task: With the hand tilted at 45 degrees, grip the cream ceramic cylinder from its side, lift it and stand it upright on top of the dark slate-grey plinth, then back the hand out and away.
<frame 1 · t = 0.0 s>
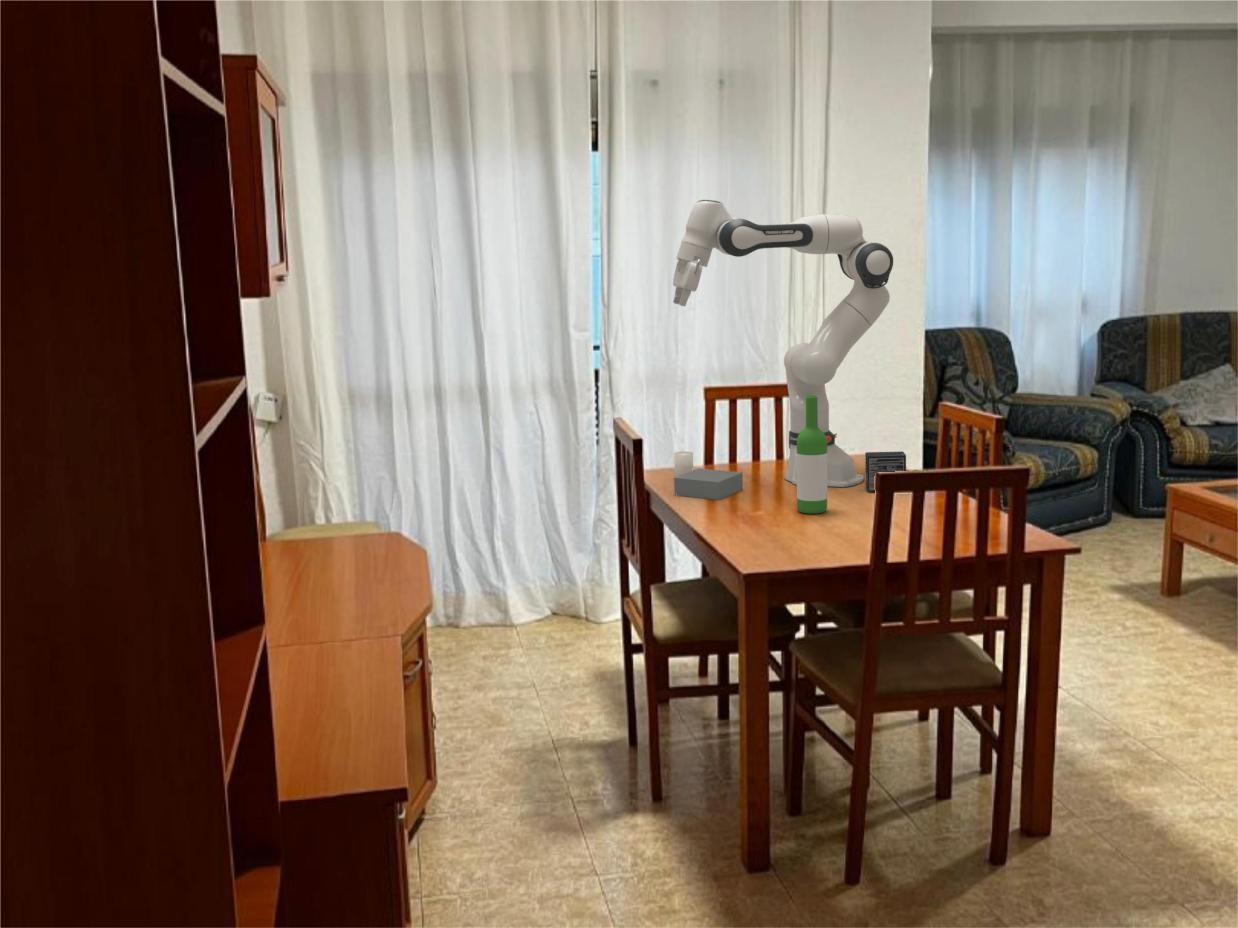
hand: (678, 304, 329), 52 cm above the table, tool tilted 20°, fingers open, 8 cm apart
wine bottle: (812, 512, 304), on the table
cylinder: (684, 479, 348), on the table
plinth: (708, 492, 330), on the table
small box: (885, 491, 325), on the table
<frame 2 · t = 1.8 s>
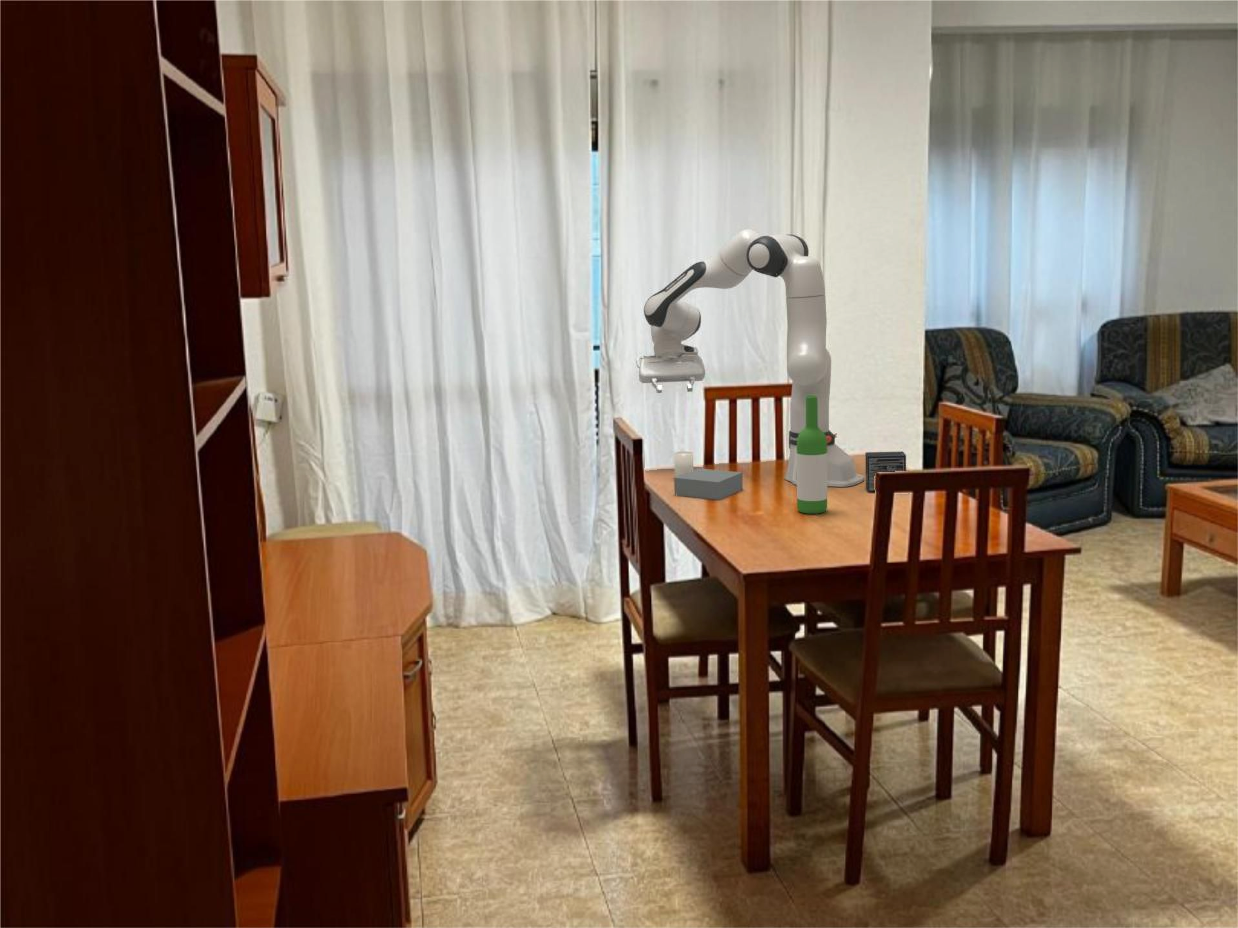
hand: (674, 391, 355), 25 cm above the table, tool tilted 45°, fingers open, 8 cm apart
nothing on the table moved.
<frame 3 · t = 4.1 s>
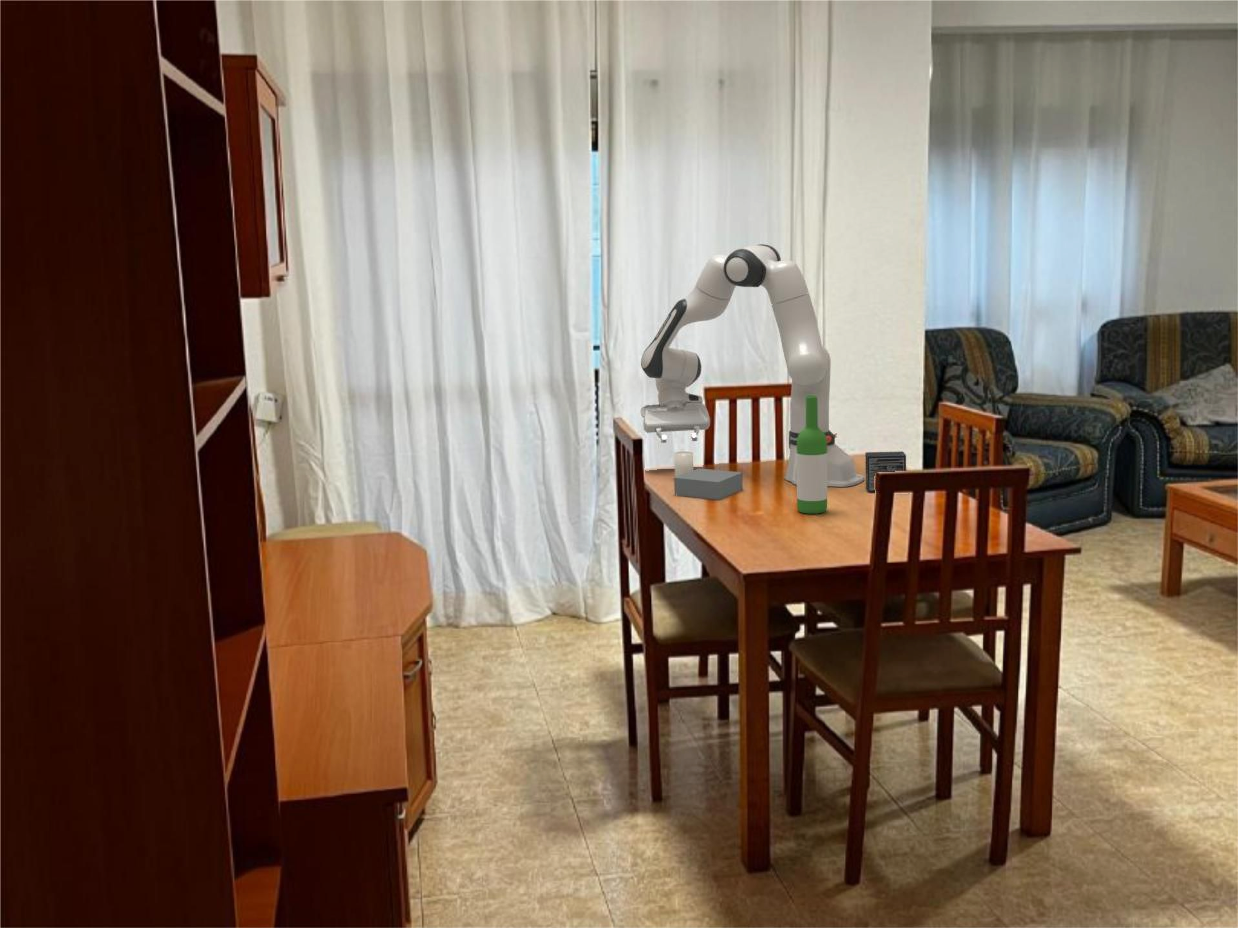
hand: (679, 440, 353), 10 cm above the table, tool tilted 45°, fingers open, 8 cm apart
nothing on the table moved.
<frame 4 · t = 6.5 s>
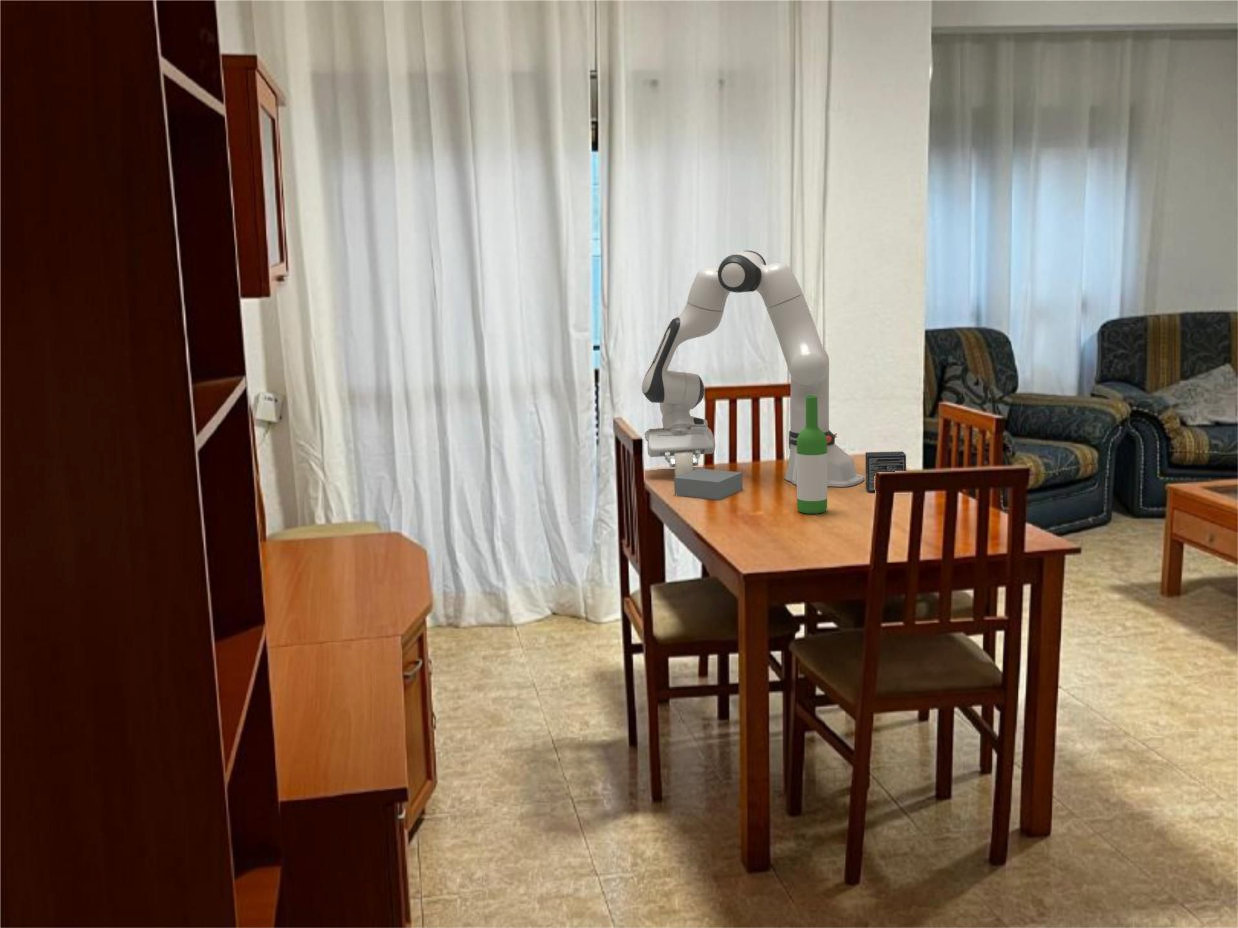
hand: (684, 465, 347), 4 cm above the table, tool tilted 45°, fingers closed on cylinder, 5 cm apart
cylinder: (684, 479, 348), on the table, touching gripper
everything else where it was.
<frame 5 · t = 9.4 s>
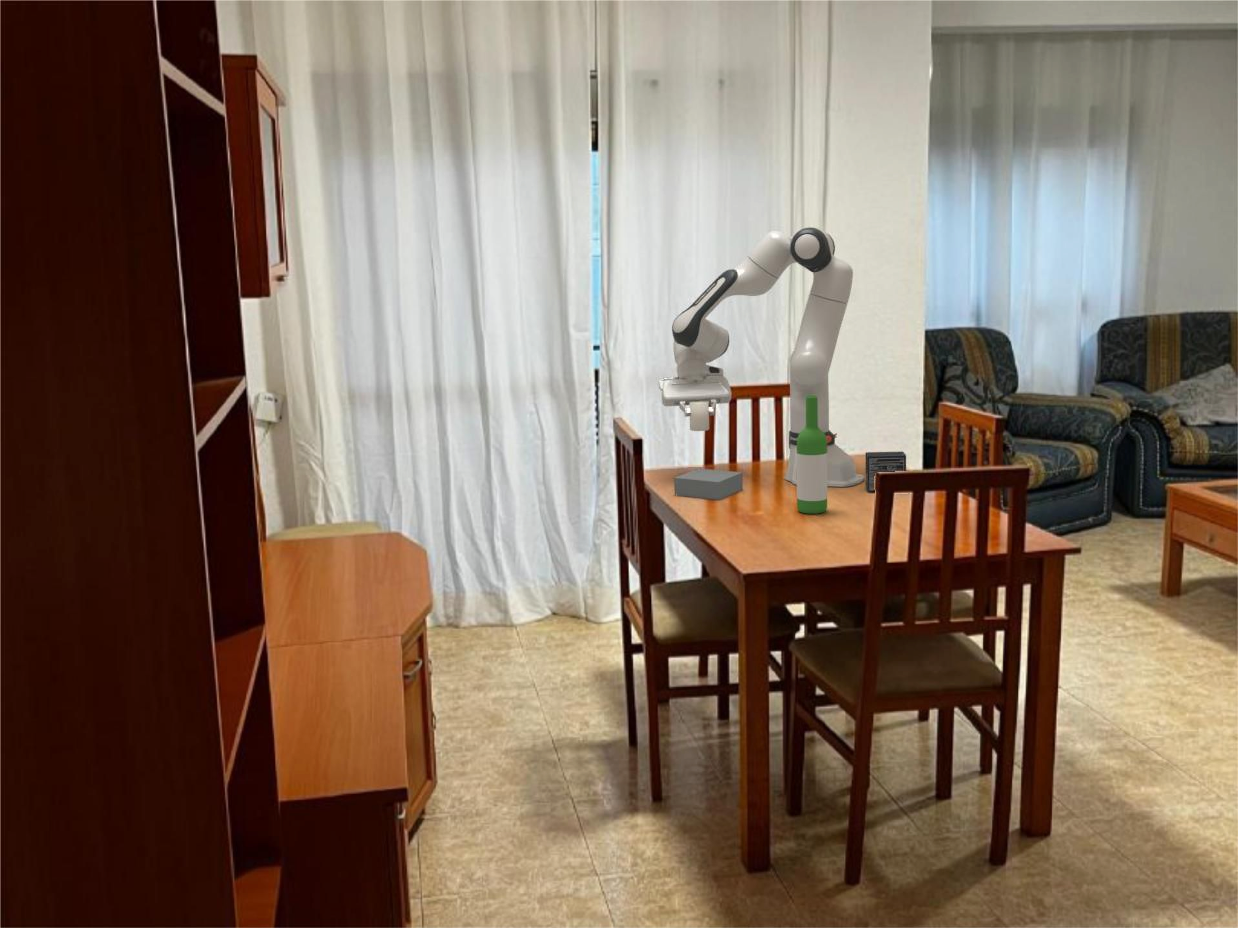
hand: (699, 414, 338), 20 cm above the table, tool tilted 45°, fingers closed on cylinder, 5 cm apart
cylinder: (699, 429, 339), point 16 cm above the table, touching gripper
everything else where it was.
when the fingers open (11 cm above the table, at t = 12.6 s): cylinder drops 1 cm, resting on plinth.
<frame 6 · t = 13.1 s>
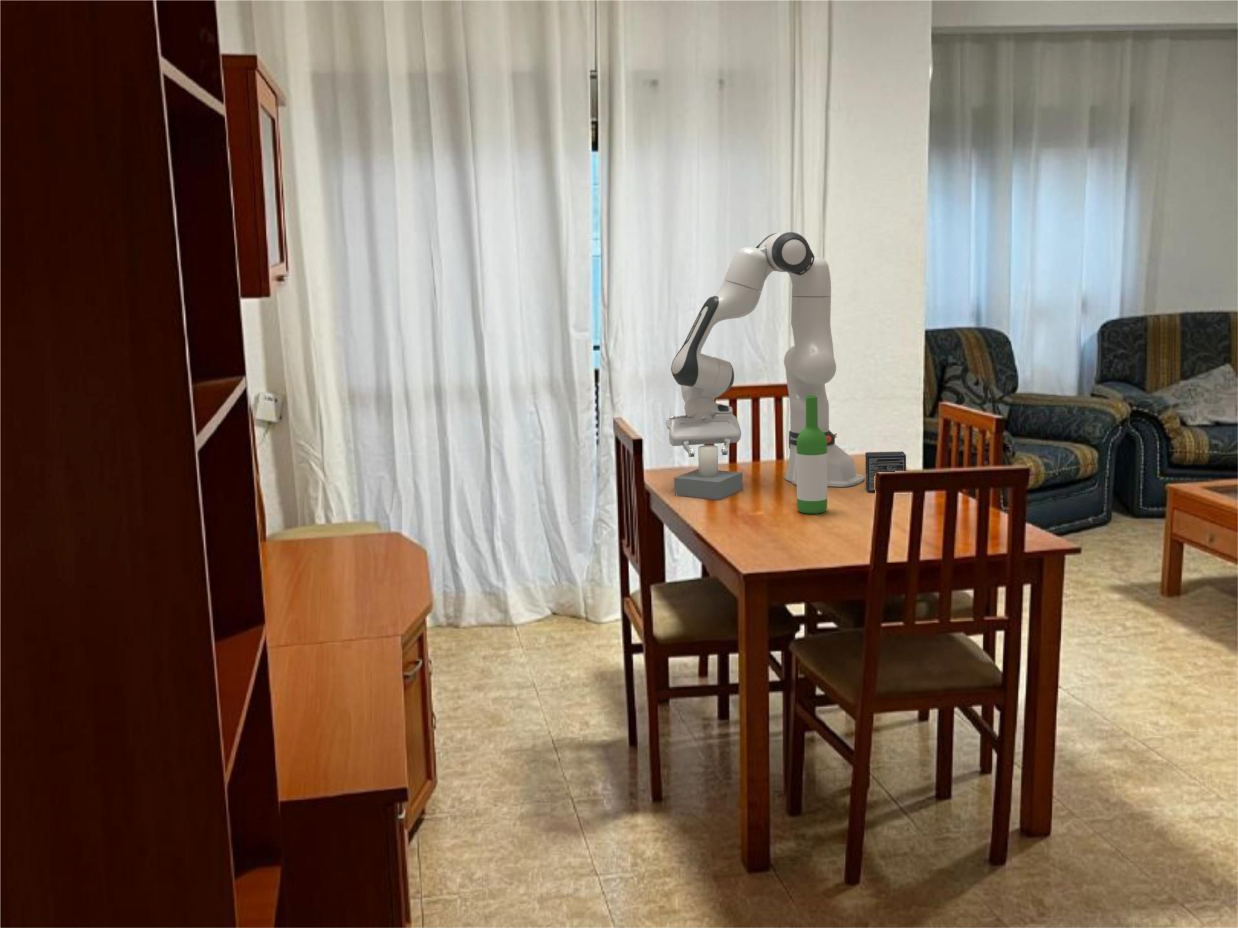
hand: (708, 454, 327), 11 cm above the table, tool tilted 45°, fingers open, 8 cm apart
cylinder: (708, 475, 329), point 5 cm above the table, touching plinth
everything else where it was.
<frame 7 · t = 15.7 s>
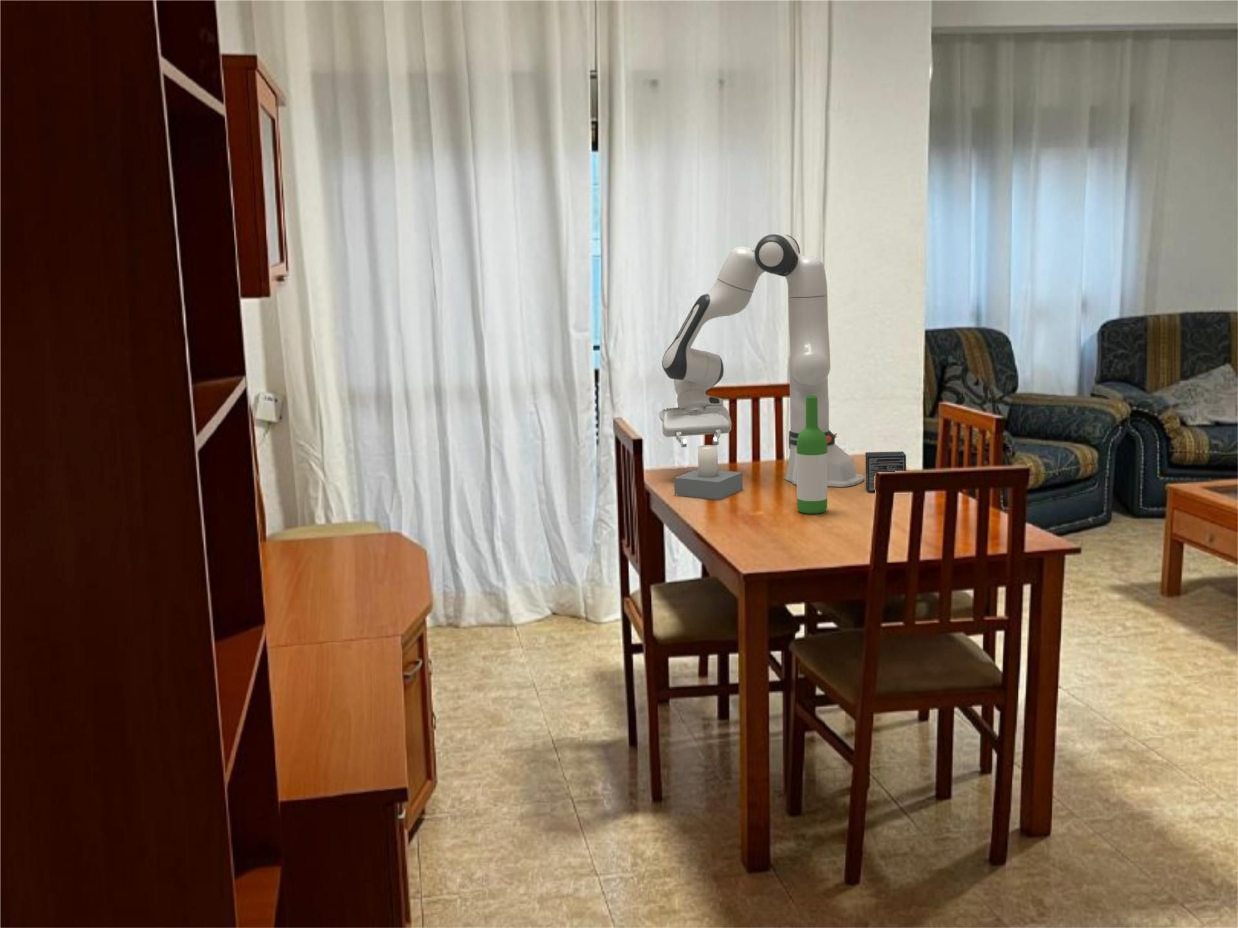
hand: (700, 445, 340), 11 cm above the table, tool tilted 45°, fingers open, 8 cm apart
nothing on the table moved.
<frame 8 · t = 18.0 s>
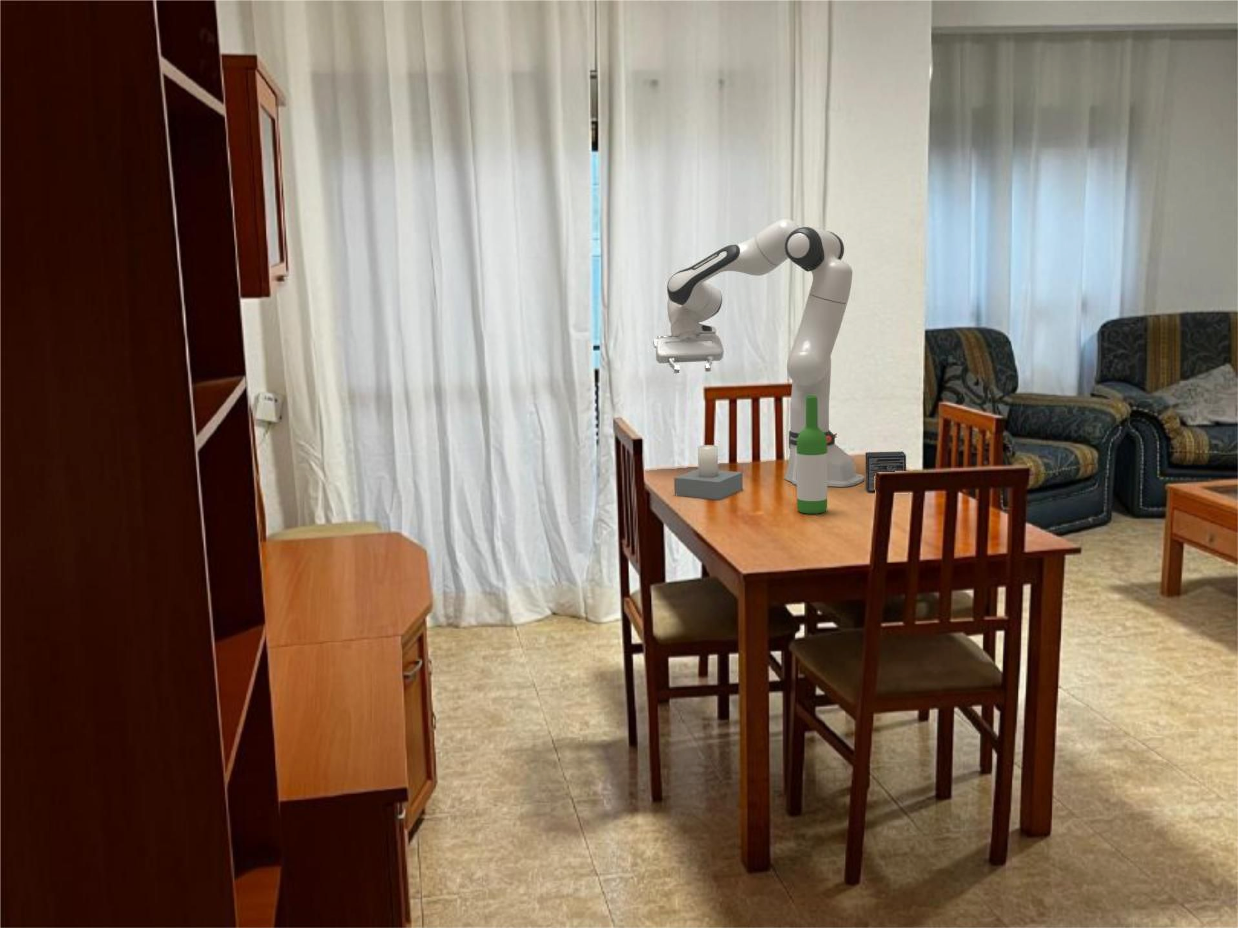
hand: (692, 371, 348), 31 cm above the table, tool tilted 45°, fingers open, 8 cm apart
nothing on the table moved.
at the end: cylinder inside the target area on the plinth (0.0 cm from its centre), point 5.0 cm above the plinth's base; cylinder tilted 1°; the gripper is holding nothing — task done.
